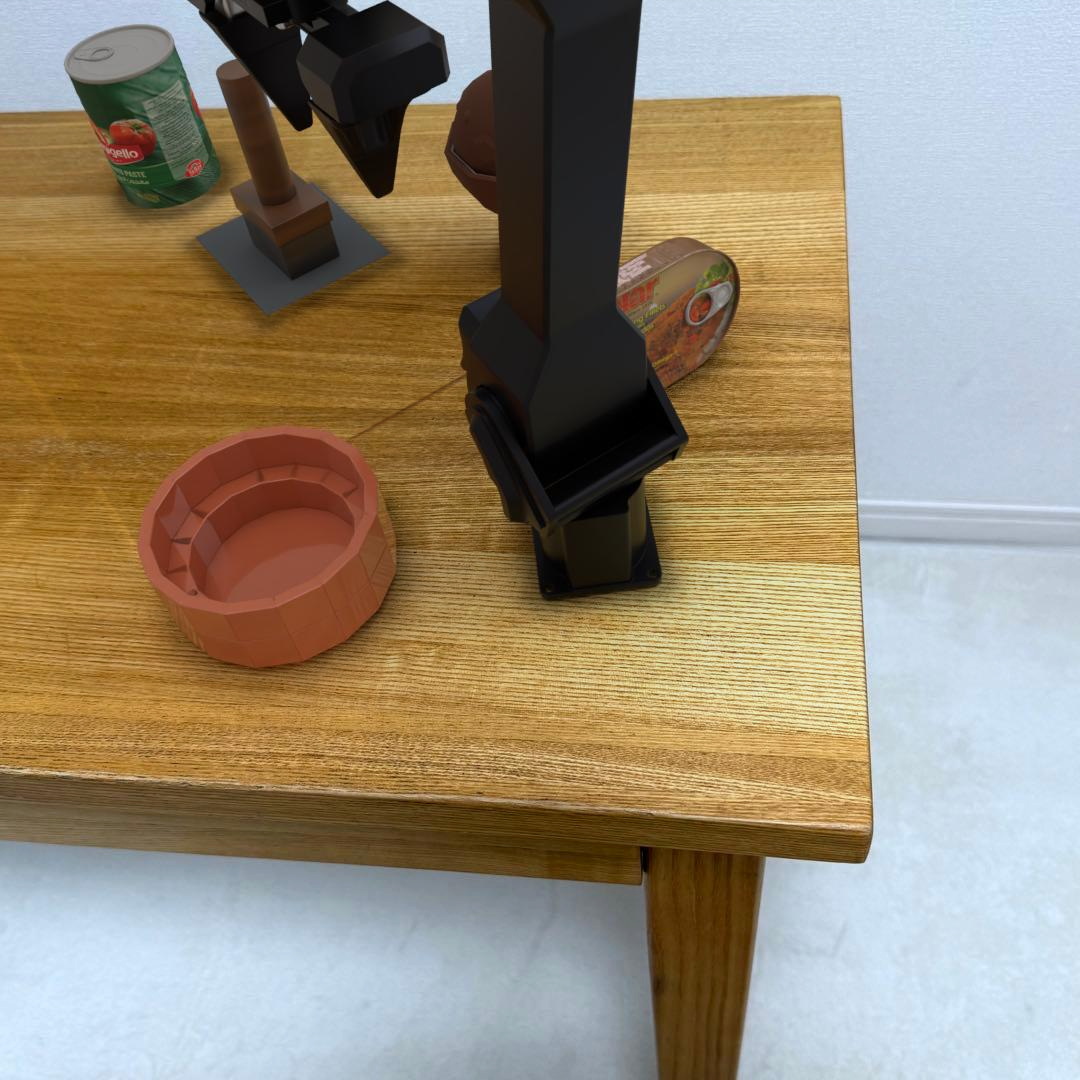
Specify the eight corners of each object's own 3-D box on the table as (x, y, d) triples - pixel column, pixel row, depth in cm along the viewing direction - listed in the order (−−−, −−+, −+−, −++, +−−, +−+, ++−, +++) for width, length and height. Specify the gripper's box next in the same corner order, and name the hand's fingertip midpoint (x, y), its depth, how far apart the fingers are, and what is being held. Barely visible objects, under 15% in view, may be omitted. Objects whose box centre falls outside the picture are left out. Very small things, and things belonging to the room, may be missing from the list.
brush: (344, 256, 76) (291, 72, 66) (291, 283, 75) (227, 101, 64) (301, 217, 80) (243, 38, 69) (249, 243, 78) (182, 64, 68)
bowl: (400, 654, 56) (378, 593, 51) (164, 687, 56) (122, 629, 51) (396, 477, 63) (376, 411, 59) (189, 507, 64) (154, 443, 59)
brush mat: (393, 259, 77) (391, 252, 76) (269, 322, 74) (266, 315, 73) (314, 188, 83) (312, 181, 83) (197, 243, 80) (194, 236, 80)
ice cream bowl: (624, 207, 78) (616, -3, 66) (616, 308, 71) (604, 94, 59) (480, 211, 79) (446, 6, 67) (458, 310, 72) (417, 102, 61)
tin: (549, 460, 63) (535, 351, 56) (518, 431, 65) (501, 322, 58) (741, 343, 68) (748, 230, 61) (708, 319, 69) (711, 206, 63)
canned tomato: (237, 156, 87) (189, 21, 78) (204, 215, 82) (150, 78, 74) (146, 157, 88) (89, 24, 80) (109, 215, 84) (45, 80, 75)
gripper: (522, -149, 46) (553, 170, 59) (316, -240, 56) (379, 49, 69) (297, -61, 43) (379, 259, 55) (121, -174, 53) (224, 117, 65)
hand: (342, 160), depth 61 cm, fingers open, 9 cm apart
